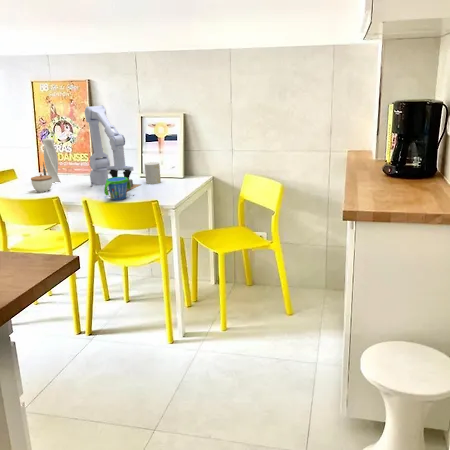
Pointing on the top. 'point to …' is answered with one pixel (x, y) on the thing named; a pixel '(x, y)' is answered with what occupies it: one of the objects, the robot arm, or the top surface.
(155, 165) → the cup
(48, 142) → the skyscraper
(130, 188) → the gear board
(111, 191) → the snack cup
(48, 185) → the lidded jar
